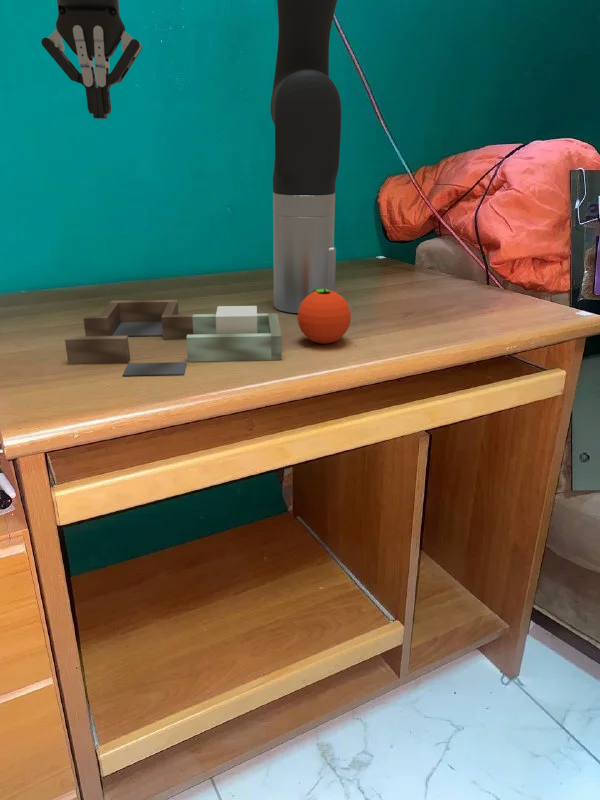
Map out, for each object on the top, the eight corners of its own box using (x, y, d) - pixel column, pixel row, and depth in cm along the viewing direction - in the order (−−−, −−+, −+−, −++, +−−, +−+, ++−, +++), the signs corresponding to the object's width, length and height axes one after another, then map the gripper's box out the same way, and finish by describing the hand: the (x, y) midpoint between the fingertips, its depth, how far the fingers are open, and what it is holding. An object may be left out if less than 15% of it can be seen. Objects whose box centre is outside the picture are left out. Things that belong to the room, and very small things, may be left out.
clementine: (286, 335, 86) (286, 283, 83) (333, 330, 88) (334, 279, 85) (309, 353, 79) (310, 297, 76) (359, 347, 81) (361, 292, 78)
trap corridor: (274, 318, 93) (274, 298, 92) (283, 373, 72) (283, 348, 71) (101, 321, 91) (98, 300, 90) (57, 377, 70) (53, 352, 69)
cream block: (257, 343, 83) (256, 305, 81) (257, 355, 78) (257, 316, 76) (219, 343, 83) (217, 306, 81) (217, 355, 78) (215, 316, 76)
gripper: (142, -25, 83) (153, 119, 89) (39, -28, 82) (57, 118, 88) (133, -40, 76) (146, 118, 82) (20, -43, 75) (42, 117, 81)
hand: (100, 118), depth 85 cm, fingers closed
